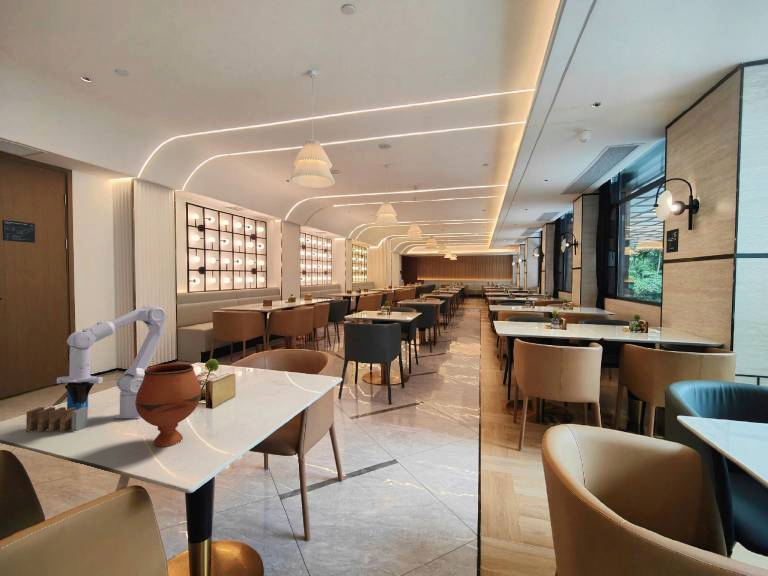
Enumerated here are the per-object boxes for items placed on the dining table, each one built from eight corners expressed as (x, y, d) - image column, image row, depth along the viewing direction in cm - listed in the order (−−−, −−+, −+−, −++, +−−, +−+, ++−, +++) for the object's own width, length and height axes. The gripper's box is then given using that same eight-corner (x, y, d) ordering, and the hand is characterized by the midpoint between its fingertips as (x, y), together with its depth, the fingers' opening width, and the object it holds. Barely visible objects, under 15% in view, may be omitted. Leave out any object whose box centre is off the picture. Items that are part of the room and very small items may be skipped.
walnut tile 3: (65, 426, 131) (65, 407, 131) (53, 431, 126) (53, 412, 126) (60, 426, 131) (61, 407, 131) (48, 431, 126) (49, 412, 126)
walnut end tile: (44, 426, 131) (44, 407, 130) (31, 431, 126) (31, 412, 125) (39, 426, 130) (39, 407, 130) (26, 431, 125) (26, 412, 125)
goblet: (172, 457, 109) (173, 376, 109) (118, 451, 112) (119, 372, 112) (212, 432, 128) (213, 363, 128) (165, 427, 131) (166, 360, 131)
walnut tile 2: (76, 426, 131) (76, 407, 131) (64, 431, 126) (64, 412, 126) (71, 426, 131) (71, 407, 131) (59, 432, 126) (60, 412, 126)
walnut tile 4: (54, 426, 131) (55, 407, 131) (42, 431, 126) (42, 412, 126) (50, 426, 131) (50, 407, 131) (37, 431, 126) (37, 412, 126)
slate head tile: (87, 426, 131) (87, 407, 131) (76, 431, 126) (76, 412, 126) (82, 426, 131) (83, 407, 131) (71, 431, 126) (71, 412, 126)
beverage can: (75, 415, 141) (76, 385, 141) (62, 414, 142) (63, 384, 142) (92, 410, 148) (92, 381, 147) (79, 408, 149) (79, 380, 149)
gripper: (49, 367, 124) (48, 406, 124) (92, 368, 125) (91, 406, 125) (66, 363, 131) (65, 400, 131) (107, 363, 132) (106, 400, 132)
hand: (79, 403), depth 129 cm, fingers closed
